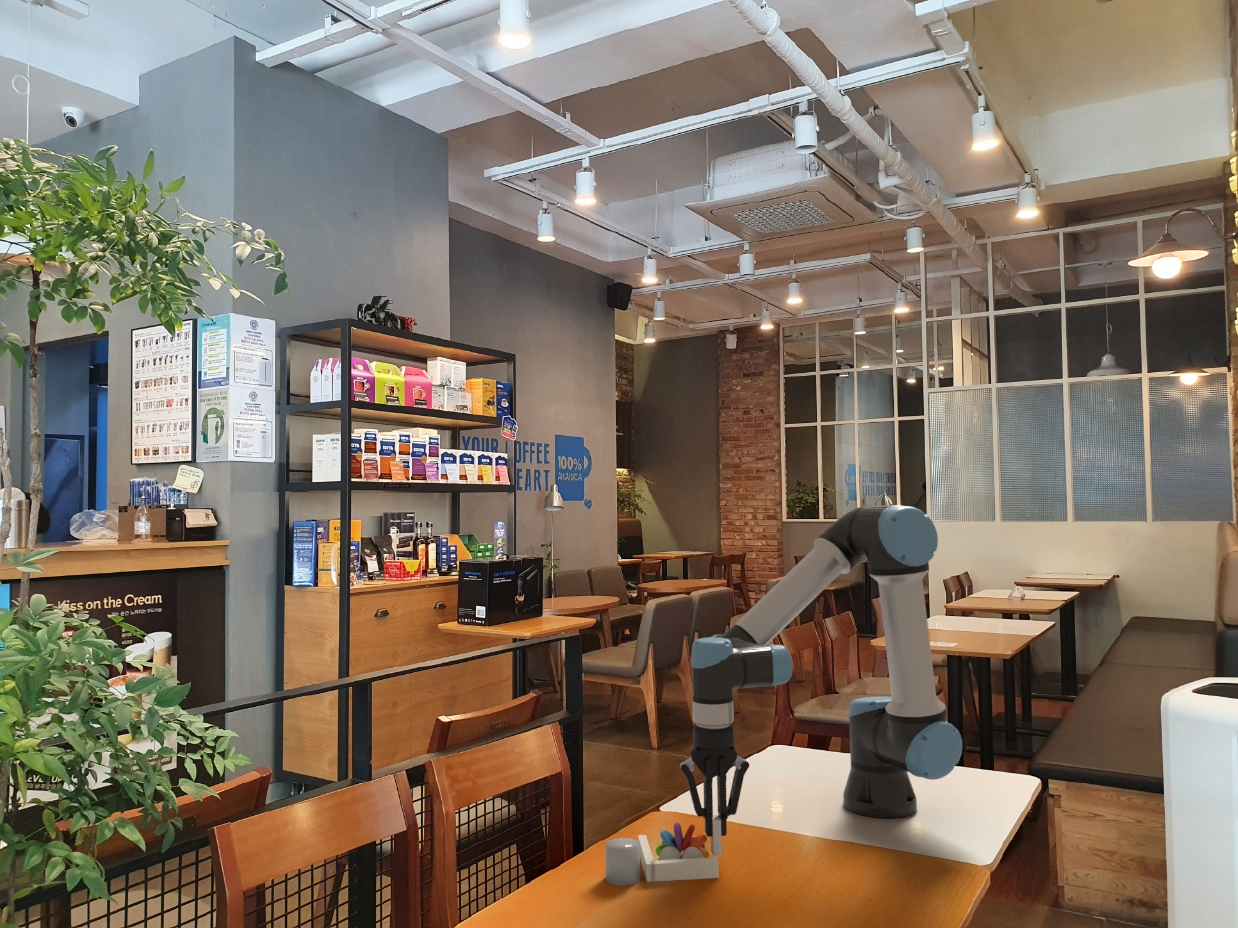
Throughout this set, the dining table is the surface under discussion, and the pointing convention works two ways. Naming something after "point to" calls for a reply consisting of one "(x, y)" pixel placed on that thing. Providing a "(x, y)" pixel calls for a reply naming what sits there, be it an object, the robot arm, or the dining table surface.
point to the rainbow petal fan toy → (681, 845)
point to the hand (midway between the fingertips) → (716, 853)
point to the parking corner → (675, 866)
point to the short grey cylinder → (622, 861)
